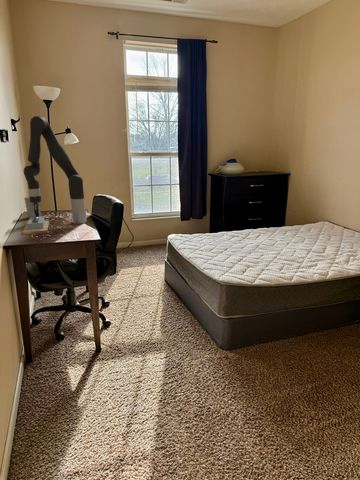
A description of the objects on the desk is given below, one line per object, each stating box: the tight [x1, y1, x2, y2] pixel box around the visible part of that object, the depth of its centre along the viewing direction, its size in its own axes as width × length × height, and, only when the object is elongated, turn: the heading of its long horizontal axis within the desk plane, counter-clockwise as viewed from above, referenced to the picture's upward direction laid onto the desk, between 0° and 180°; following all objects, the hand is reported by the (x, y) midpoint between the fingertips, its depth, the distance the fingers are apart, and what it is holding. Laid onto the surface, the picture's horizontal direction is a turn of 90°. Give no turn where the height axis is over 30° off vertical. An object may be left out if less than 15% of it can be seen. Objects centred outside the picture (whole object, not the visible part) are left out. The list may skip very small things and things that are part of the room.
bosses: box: [32, 217, 39, 223], centre depth 211 cm, size 12×4×5 cm, turn 20°
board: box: [22, 219, 50, 235], centre depth 213 cm, size 30×14×2 cm, turn 20°
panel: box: [26, 215, 46, 229], centre depth 214 cm, size 21×9×4 cm, turn 20°
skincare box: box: [24, 196, 43, 219], centre depth 243 cm, size 8×7×16 cm
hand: (37, 219), depth 226 cm, fingers closed
